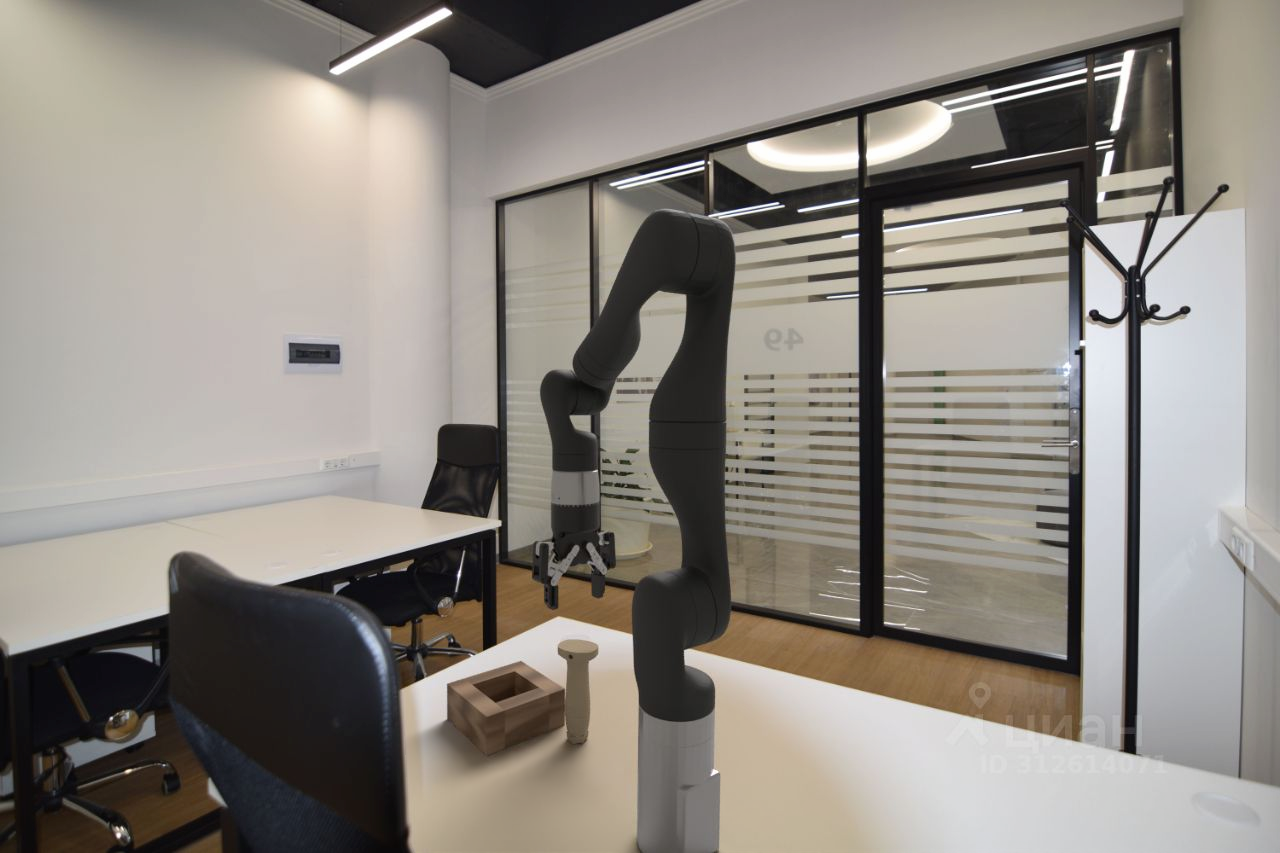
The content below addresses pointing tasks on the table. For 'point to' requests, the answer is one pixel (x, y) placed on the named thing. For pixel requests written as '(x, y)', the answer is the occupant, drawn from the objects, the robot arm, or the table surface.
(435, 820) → the table surface
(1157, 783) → the table surface
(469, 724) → the wooden block
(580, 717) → the handle
